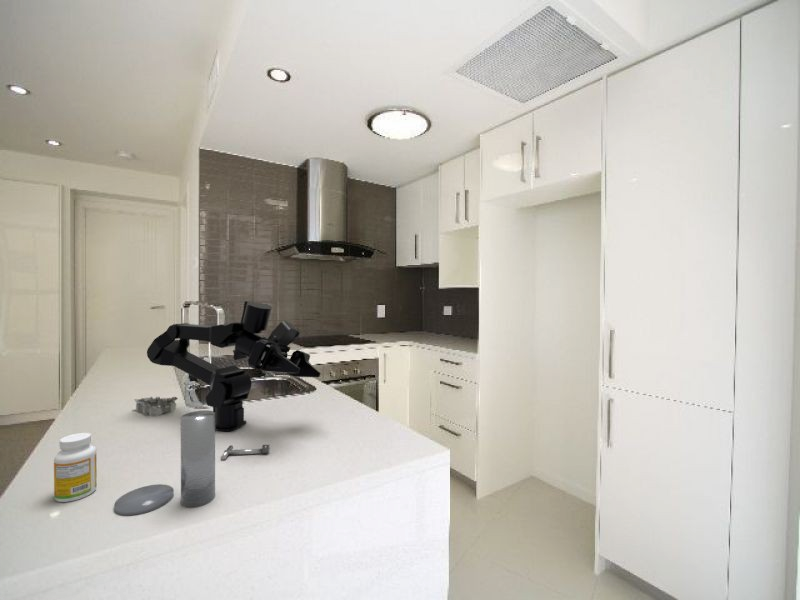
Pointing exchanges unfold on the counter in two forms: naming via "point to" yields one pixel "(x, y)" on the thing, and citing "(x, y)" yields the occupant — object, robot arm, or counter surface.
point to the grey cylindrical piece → (197, 458)
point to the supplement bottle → (75, 468)
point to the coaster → (143, 499)
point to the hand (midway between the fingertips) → (309, 373)
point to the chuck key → (245, 451)
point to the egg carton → (155, 405)
